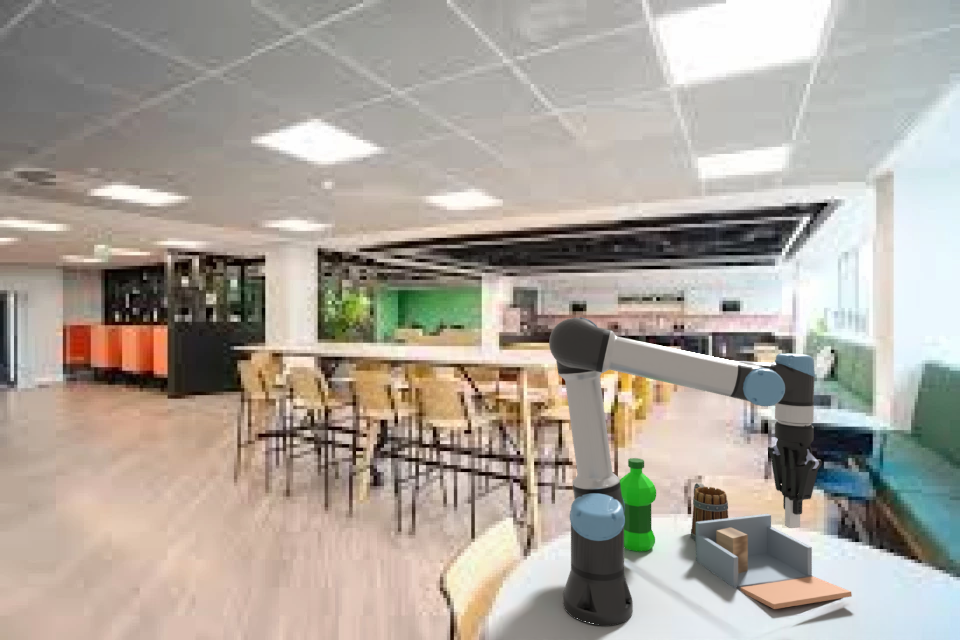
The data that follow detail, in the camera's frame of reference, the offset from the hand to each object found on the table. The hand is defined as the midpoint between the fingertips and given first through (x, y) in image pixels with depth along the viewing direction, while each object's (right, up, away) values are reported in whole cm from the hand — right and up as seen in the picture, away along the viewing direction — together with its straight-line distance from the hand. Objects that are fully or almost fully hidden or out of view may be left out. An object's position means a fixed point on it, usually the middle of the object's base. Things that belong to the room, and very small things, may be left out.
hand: (792, 526), depth 120 cm
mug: (-5, -17, +33) cm, 37 cm away
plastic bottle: (-27, -17, +26) cm, 42 cm away
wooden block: (-8, -15, +13) cm, 21 cm away
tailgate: (-1, -15, +5) cm, 16 cm away
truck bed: (-3, -17, +13) cm, 21 cm away
